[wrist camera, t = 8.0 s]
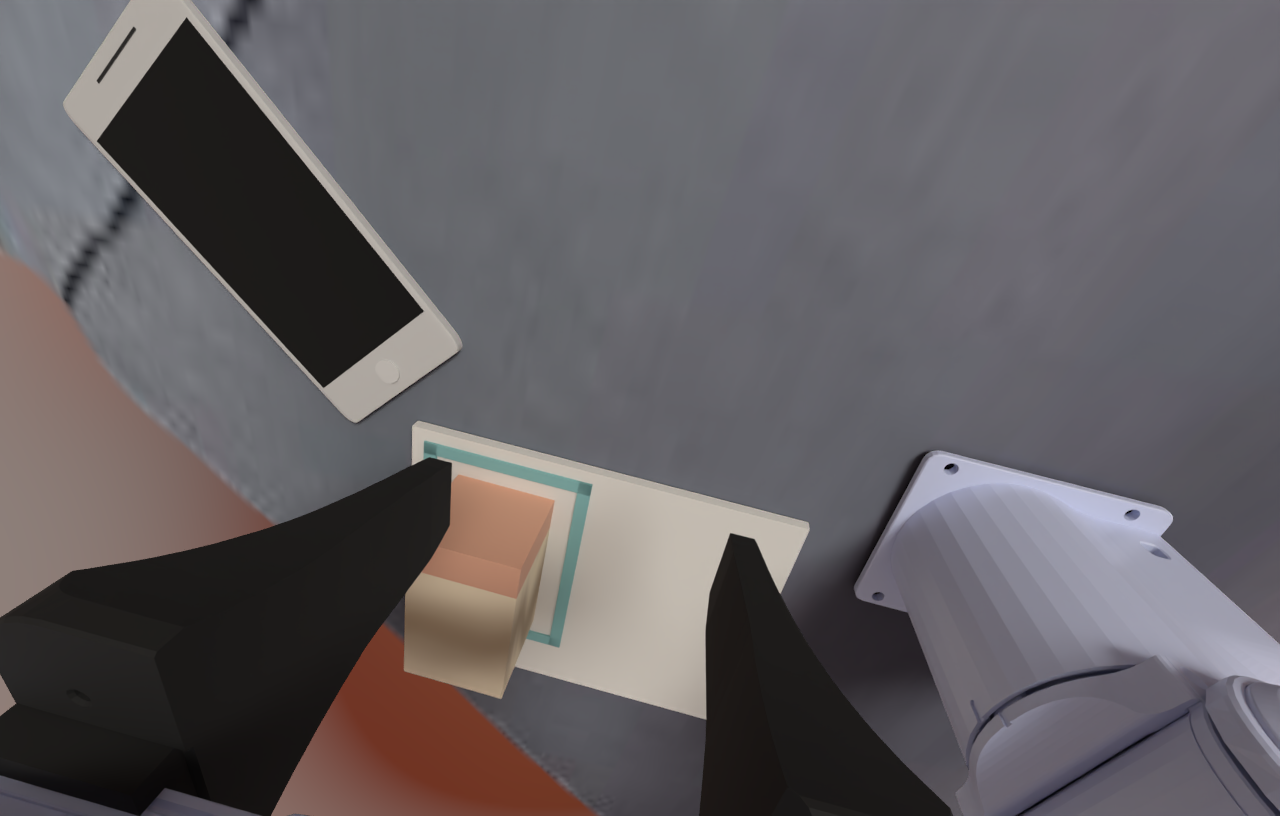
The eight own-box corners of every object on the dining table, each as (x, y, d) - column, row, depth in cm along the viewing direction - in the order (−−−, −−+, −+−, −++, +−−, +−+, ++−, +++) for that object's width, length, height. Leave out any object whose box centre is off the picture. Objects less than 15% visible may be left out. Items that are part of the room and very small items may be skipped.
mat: (808, 522, 24) (809, 531, 23) (721, 715, 30) (721, 725, 29) (418, 420, 24) (411, 426, 24) (414, 630, 31) (408, 638, 30)
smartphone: (363, 417, 25) (351, 427, 24) (82, 108, 21) (55, 107, 20) (471, 342, 23) (461, 349, 22) (177, -29, 18) (150, -37, 17)
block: (533, 620, 28) (501, 698, 24) (449, 596, 28) (404, 671, 24) (554, 500, 24) (520, 569, 20) (458, 474, 25) (406, 537, 21)
